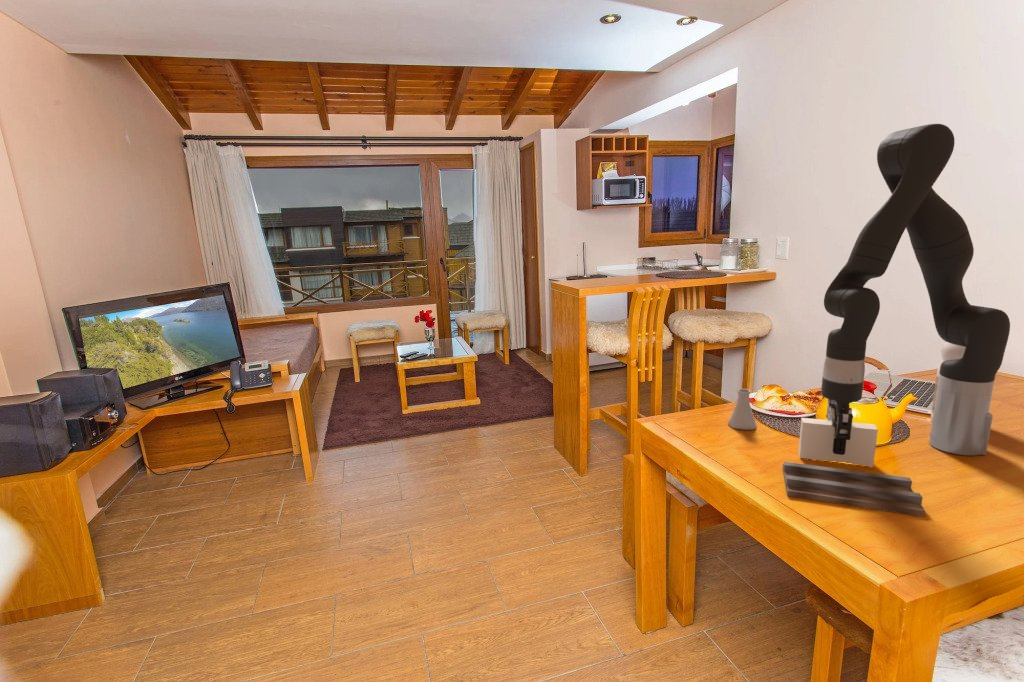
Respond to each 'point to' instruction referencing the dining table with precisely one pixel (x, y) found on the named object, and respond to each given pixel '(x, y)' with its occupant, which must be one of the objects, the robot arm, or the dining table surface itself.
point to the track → (853, 498)
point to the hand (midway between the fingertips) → (835, 446)
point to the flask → (742, 412)
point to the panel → (820, 440)
